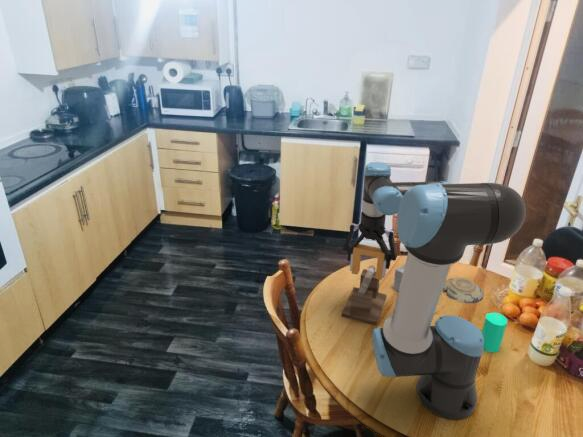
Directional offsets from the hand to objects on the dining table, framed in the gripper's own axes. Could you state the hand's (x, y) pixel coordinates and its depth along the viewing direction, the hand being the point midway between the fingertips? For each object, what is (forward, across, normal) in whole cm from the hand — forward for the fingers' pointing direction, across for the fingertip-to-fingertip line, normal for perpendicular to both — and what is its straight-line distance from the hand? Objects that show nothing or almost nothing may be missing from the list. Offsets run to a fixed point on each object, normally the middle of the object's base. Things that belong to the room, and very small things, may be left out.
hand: (367, 272), depth 142 cm
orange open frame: (+1, 0, 0) cm, 1 cm away
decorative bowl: (+15, -31, -23) cm, 41 cm away
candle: (+14, -40, +4) cm, 43 cm away
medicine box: (+14, -11, -17) cm, 25 cm away
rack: (+14, 0, 0) cm, 14 cm away
